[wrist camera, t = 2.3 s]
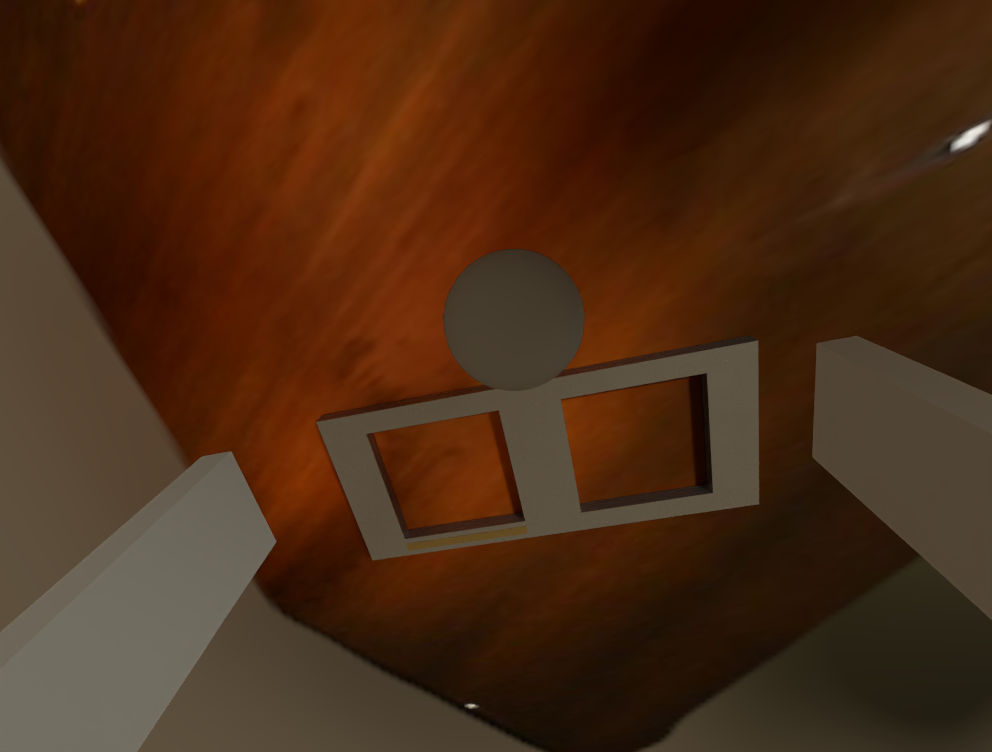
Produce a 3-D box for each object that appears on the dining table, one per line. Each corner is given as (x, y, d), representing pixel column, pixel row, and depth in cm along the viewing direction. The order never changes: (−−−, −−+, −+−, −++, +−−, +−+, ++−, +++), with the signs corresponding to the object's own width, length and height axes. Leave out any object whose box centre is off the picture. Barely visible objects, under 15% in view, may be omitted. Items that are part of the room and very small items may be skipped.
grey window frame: (321, 415, 31) (315, 422, 30) (750, 335, 28) (758, 340, 27) (376, 550, 36) (372, 560, 35) (751, 495, 33) (759, 504, 32)
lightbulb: (549, 216, 26) (573, 238, 16) (575, 317, 28) (610, 392, 18) (448, 250, 27) (408, 290, 17) (481, 345, 29) (463, 431, 19)
